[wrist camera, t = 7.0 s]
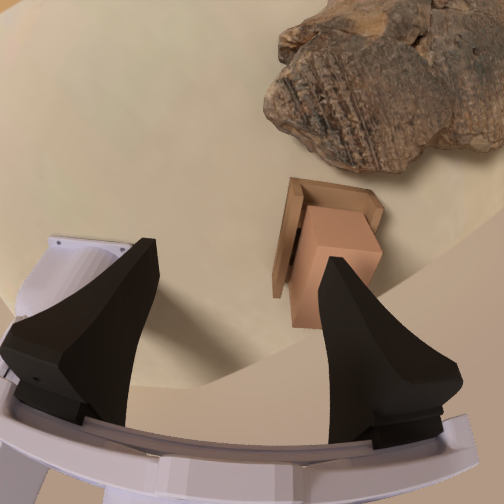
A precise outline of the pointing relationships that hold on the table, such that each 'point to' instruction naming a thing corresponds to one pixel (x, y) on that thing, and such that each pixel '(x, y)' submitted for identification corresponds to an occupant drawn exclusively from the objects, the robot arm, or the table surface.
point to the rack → (321, 196)
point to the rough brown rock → (392, 81)
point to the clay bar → (317, 254)
